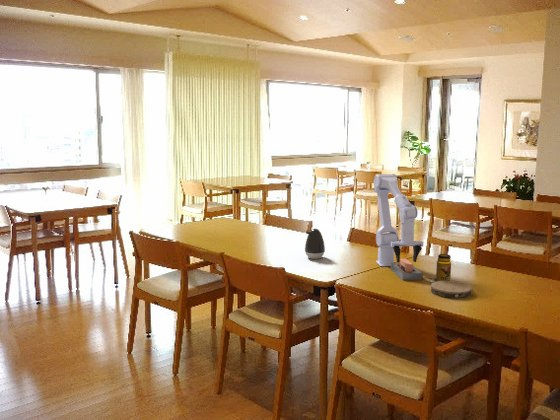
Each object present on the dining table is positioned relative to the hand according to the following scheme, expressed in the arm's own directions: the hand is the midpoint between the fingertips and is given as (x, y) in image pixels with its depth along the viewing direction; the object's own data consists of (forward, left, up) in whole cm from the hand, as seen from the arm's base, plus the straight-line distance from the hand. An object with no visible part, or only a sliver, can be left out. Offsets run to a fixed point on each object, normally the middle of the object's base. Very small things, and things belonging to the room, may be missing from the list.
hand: (406, 261), depth 257 cm
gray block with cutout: (0, 0, -6) cm, 6 cm away
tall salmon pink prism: (0, 0, -6) cm, 6 cm away
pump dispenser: (-34, -37, -6) cm, 51 cm away
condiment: (+12, +12, -6) cm, 18 cm away
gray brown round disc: (+28, +10, -6) cm, 30 cm away
